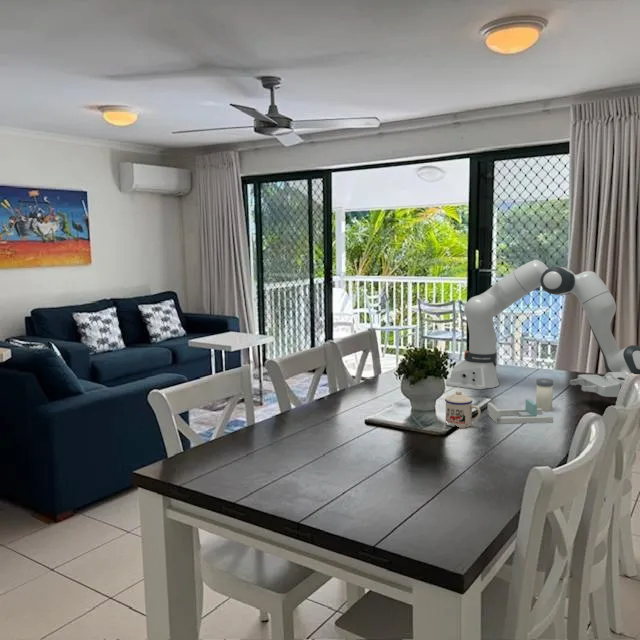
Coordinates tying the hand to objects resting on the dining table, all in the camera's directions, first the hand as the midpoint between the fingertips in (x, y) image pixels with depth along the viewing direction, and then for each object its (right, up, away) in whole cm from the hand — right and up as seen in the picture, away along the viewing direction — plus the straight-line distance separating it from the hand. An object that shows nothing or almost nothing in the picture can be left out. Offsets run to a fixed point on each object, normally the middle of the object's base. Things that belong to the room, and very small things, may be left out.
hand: (576, 385), depth 221 cm
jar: (-11, -9, +1) cm, 15 cm away
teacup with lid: (-45, -12, -15) cm, 49 cm away
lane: (-23, -11, -9) cm, 27 cm away
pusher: (-21, -10, -9) cm, 25 cm away
